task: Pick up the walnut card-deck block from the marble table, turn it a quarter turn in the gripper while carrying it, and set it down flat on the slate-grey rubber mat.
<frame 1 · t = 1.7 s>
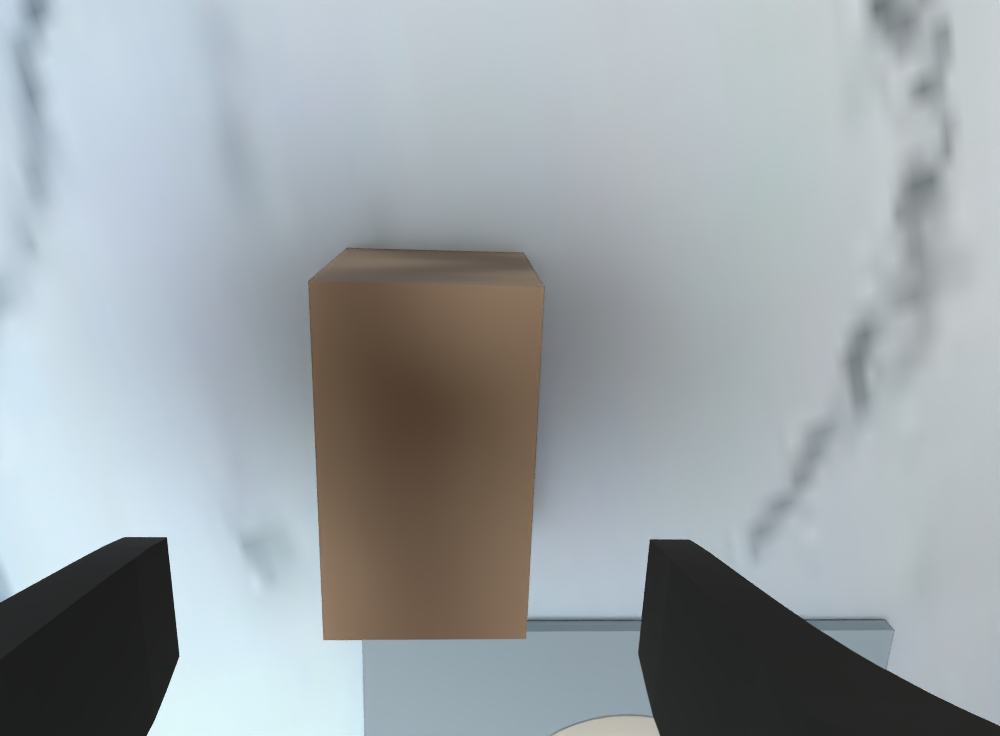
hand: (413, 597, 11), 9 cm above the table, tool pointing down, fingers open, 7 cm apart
walnut block: (434, 396, 20), on the table
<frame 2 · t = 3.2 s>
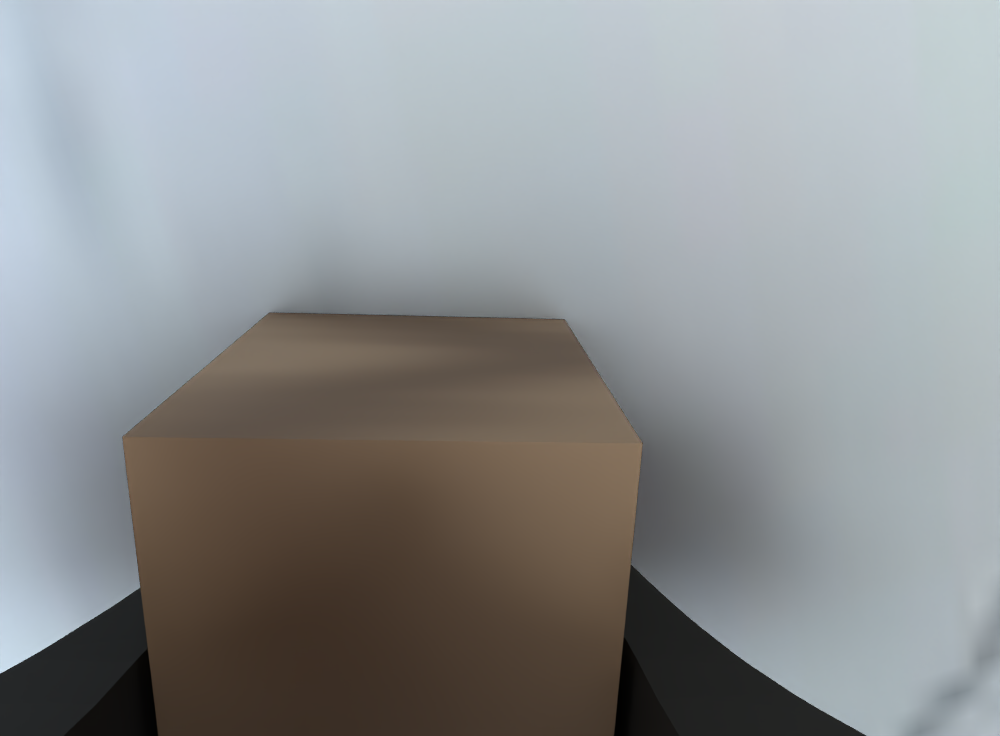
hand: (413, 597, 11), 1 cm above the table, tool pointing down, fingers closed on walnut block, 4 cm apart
walnut block: (417, 547, 12), on the table, touching gripper
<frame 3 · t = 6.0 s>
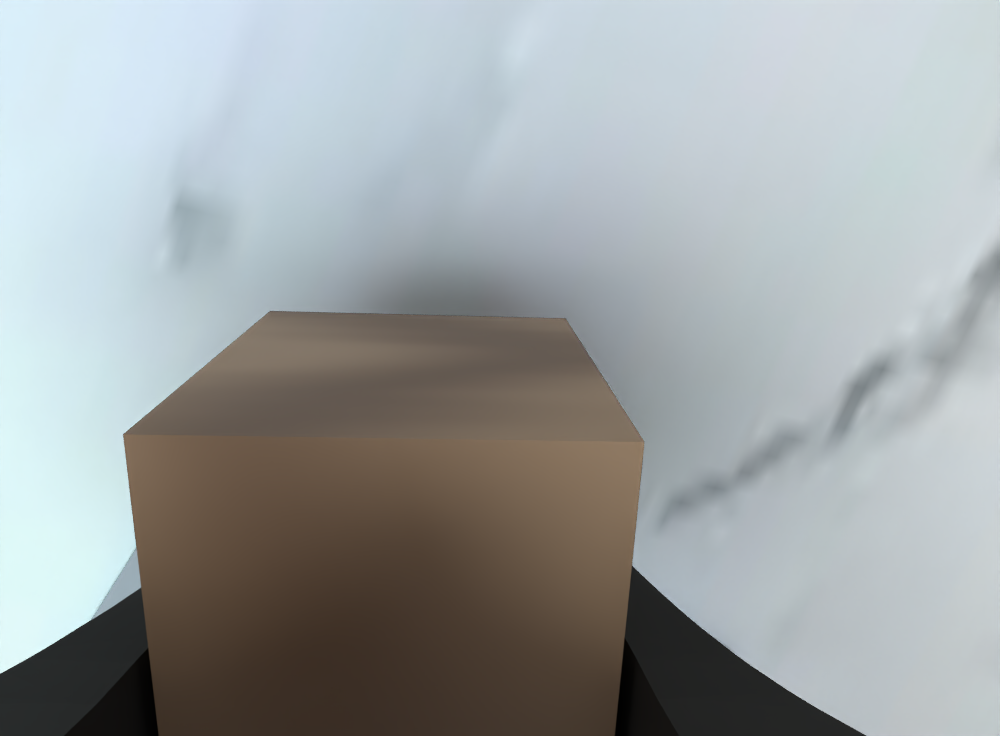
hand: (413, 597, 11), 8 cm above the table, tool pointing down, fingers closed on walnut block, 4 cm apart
walnut block: (418, 546, 12), point 7 cm above the table, touching gripper
rubber mat: (375, 700, 21), on the table
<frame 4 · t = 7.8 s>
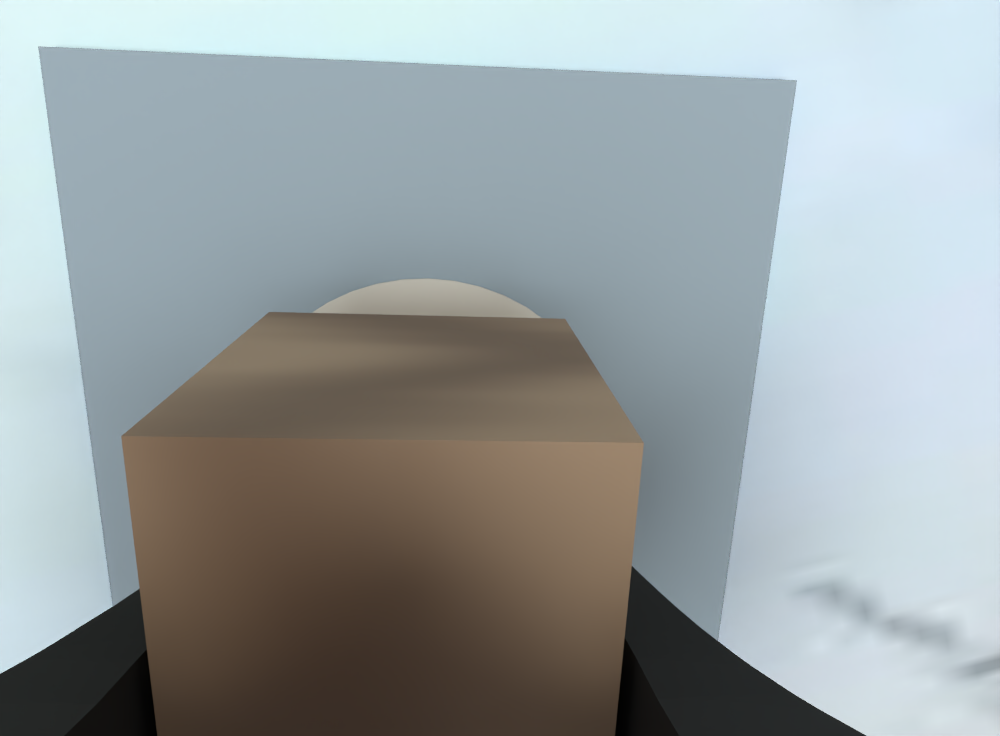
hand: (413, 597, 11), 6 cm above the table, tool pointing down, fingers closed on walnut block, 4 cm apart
walnut block: (418, 547, 12), point 4 cm above the table, touching gripper
rubber mat: (427, 452, 16), on the table
when the fingers open (3 cm above the table, at t = 9.2 s): walnut block stays where it is, resting on rubber mat.
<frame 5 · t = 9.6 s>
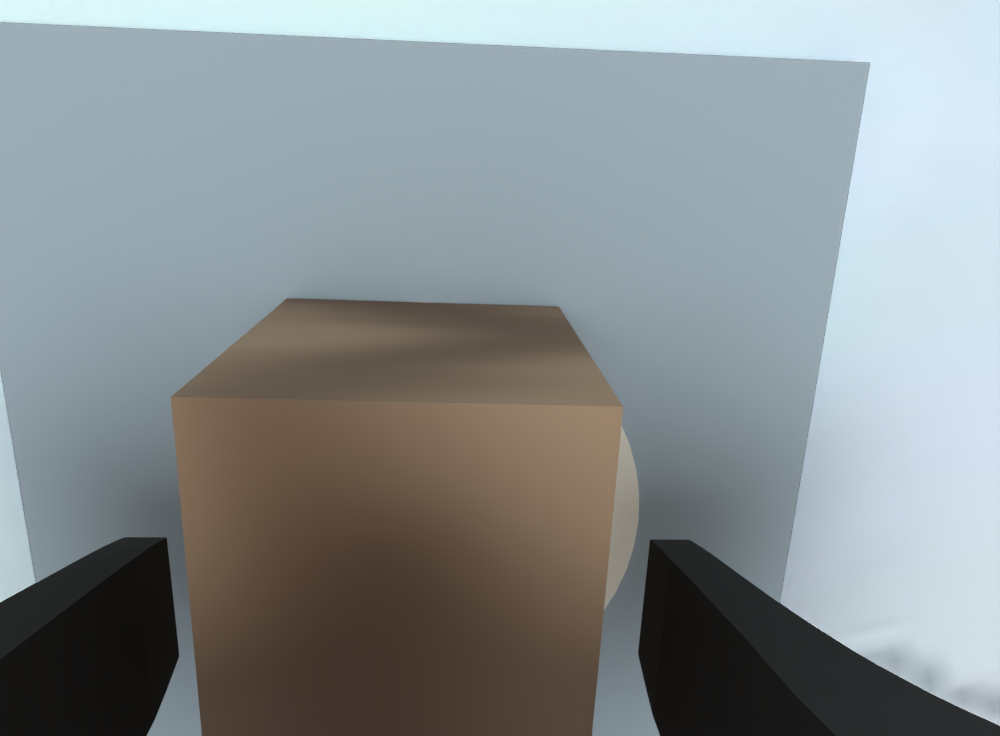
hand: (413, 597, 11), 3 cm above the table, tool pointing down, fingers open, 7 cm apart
walnut block: (421, 519, 13), point 1 cm above the table, touching rubber mat
rubber mat: (422, 504, 14), on the table
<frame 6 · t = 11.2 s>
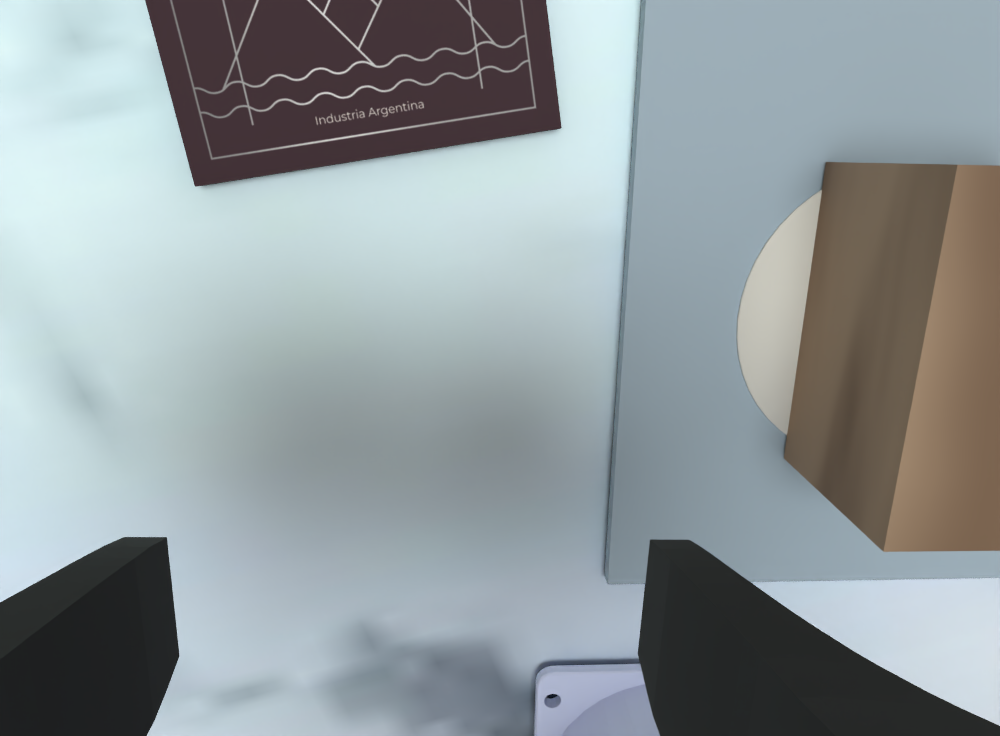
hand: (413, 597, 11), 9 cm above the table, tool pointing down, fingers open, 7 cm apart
walnut block: (885, 319, 19), point 1 cm above the table, touching rubber mat
rubber mat: (873, 314, 20), on the table
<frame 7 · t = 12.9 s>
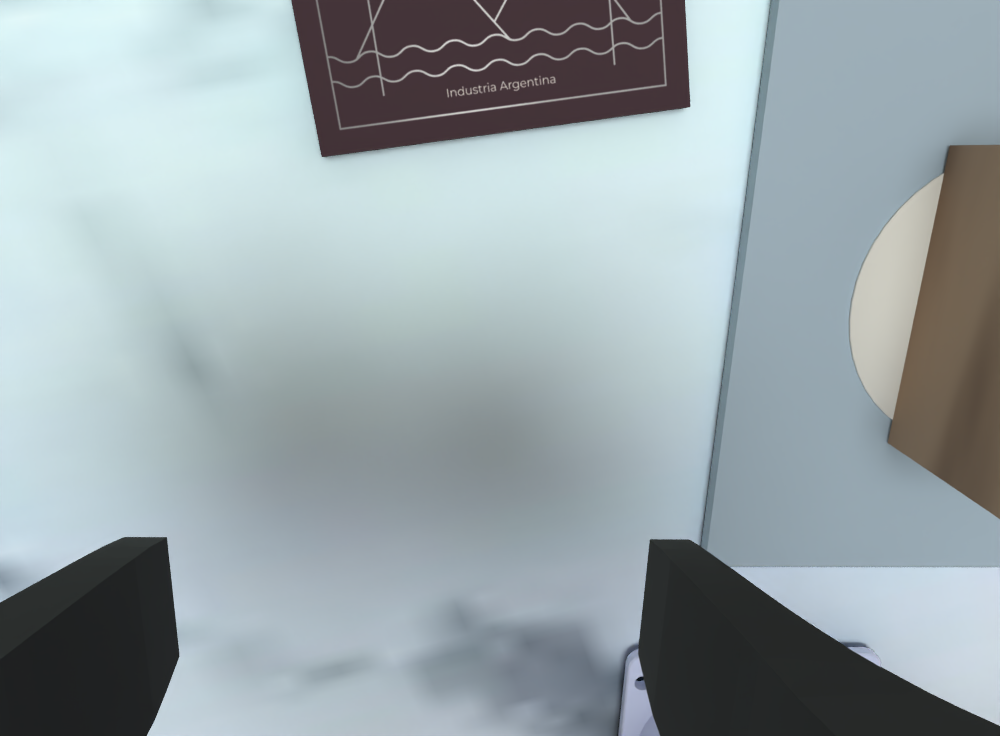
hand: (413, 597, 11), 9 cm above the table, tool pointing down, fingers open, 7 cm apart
walnut block: (997, 305, 19), point 1 cm above the table, touching rubber mat
rubber mat: (982, 301, 20), on the table
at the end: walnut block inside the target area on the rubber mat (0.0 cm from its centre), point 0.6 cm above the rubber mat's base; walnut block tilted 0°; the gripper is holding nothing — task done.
